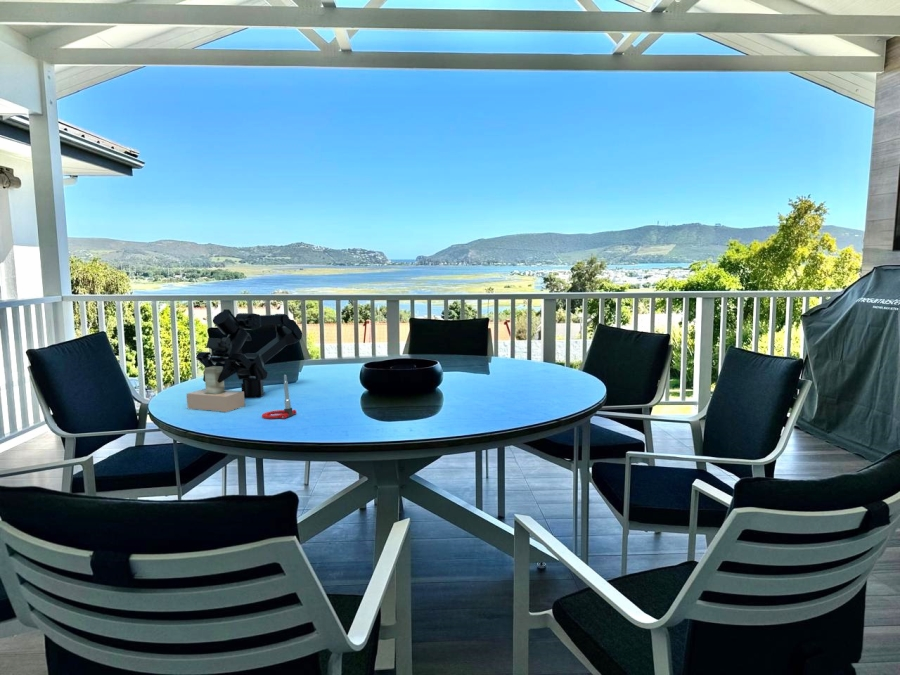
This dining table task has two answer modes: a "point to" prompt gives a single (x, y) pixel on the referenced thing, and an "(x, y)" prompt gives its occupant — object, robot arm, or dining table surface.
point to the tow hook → (288, 409)
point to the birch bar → (213, 380)
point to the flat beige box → (215, 400)
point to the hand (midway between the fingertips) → (211, 381)
